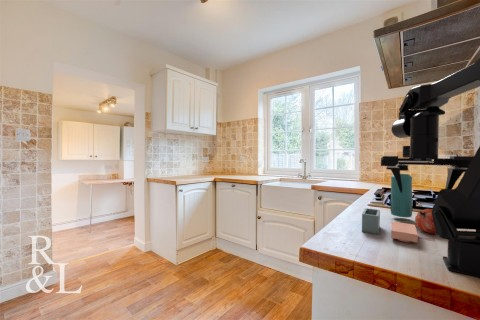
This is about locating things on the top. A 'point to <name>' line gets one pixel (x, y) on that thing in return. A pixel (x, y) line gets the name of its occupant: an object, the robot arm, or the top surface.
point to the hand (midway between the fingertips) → (422, 194)
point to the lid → (404, 232)
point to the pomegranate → (425, 221)
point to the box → (371, 221)
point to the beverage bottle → (401, 195)
